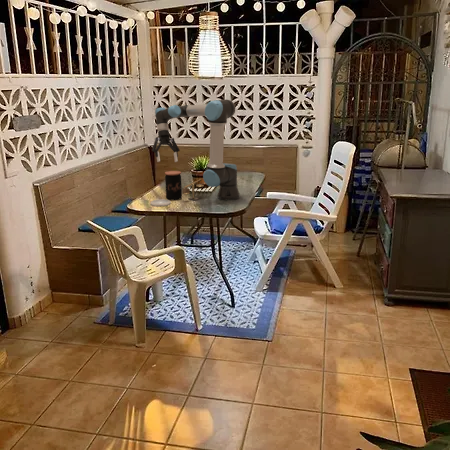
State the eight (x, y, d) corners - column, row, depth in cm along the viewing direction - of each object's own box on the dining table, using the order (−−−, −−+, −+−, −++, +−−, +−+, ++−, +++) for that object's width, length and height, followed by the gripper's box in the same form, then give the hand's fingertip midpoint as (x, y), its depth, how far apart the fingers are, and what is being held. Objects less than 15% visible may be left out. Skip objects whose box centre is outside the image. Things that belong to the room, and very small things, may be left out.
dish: (174, 203, 310) (174, 201, 309) (158, 207, 301) (158, 205, 301) (162, 200, 319) (162, 198, 318) (146, 204, 310) (146, 201, 310)
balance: (206, 198, 323) (205, 179, 319) (186, 202, 312) (185, 183, 308) (200, 196, 327) (199, 178, 323) (180, 201, 316) (179, 182, 312)
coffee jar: (166, 200, 317) (165, 174, 312) (165, 197, 327) (164, 171, 322) (182, 199, 319) (181, 173, 314) (181, 196, 329) (180, 170, 324)
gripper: (176, 133, 333) (180, 163, 331) (144, 131, 318) (148, 162, 316) (181, 130, 327) (186, 160, 325) (149, 128, 312) (153, 160, 310)
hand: (167, 161), depth 321 cm, fingers open, 13 cm apart
